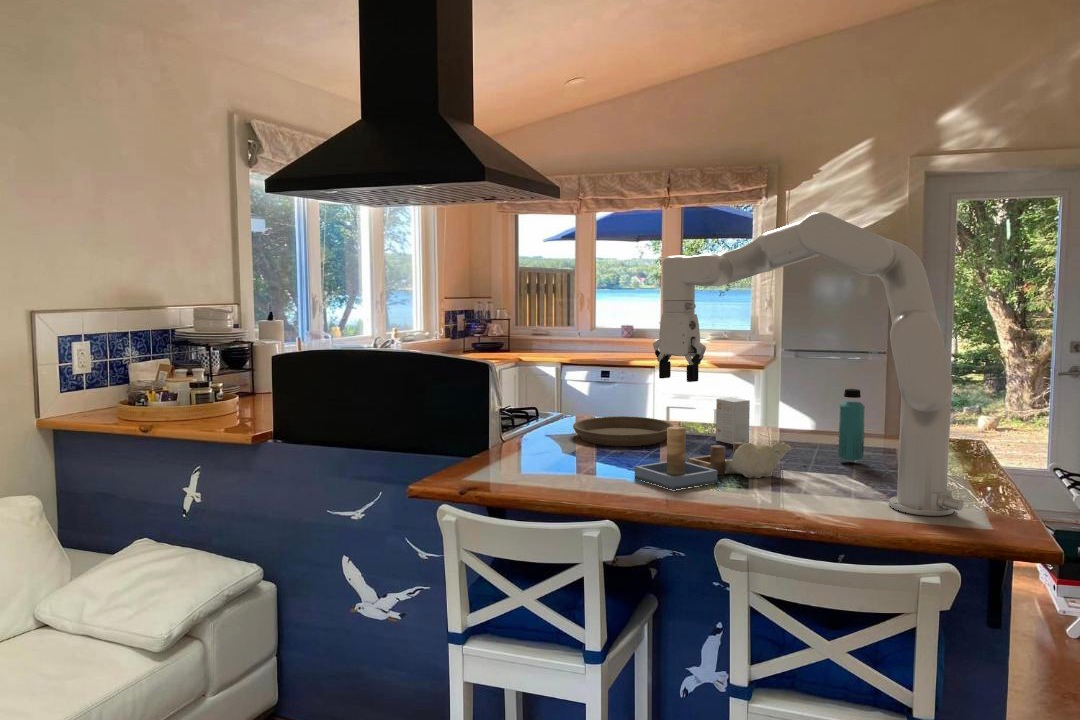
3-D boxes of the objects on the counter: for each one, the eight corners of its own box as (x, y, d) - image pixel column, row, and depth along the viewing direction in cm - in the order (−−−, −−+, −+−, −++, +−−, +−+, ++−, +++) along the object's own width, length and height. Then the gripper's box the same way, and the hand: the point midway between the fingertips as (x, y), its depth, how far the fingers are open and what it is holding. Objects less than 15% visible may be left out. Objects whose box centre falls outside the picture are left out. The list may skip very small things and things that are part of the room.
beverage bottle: (865, 466, 211) (868, 390, 209) (839, 465, 212) (841, 390, 211) (861, 461, 217) (863, 387, 216) (835, 460, 219) (837, 387, 217)
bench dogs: (750, 470, 206) (750, 443, 206) (717, 476, 200) (717, 448, 199) (739, 467, 209) (740, 441, 209) (707, 473, 203) (707, 446, 202)
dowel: (675, 480, 192) (675, 430, 191) (662, 476, 196) (663, 427, 195) (688, 477, 194) (689, 428, 193) (676, 474, 198) (677, 426, 197)
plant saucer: (618, 452, 229) (618, 437, 229) (553, 436, 254) (553, 422, 254) (694, 440, 247) (694, 425, 247) (626, 426, 272) (626, 413, 272)
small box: (749, 443, 242) (750, 400, 241) (733, 445, 239) (734, 401, 238) (730, 438, 249) (731, 397, 248) (714, 440, 246) (715, 398, 245)
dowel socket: (730, 467, 209) (730, 460, 209) (708, 471, 205) (709, 463, 205) (709, 462, 216) (709, 455, 216) (688, 465, 212) (688, 458, 212)
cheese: (720, 487, 197) (768, 455, 189) (710, 462, 201) (756, 430, 194) (757, 497, 206) (803, 466, 199) (746, 472, 211) (791, 442, 203)
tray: (717, 483, 193) (717, 470, 193) (673, 491, 185) (673, 477, 185) (677, 472, 205) (677, 459, 204) (634, 479, 197) (634, 466, 197)
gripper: (716, 308, 186) (715, 381, 187) (666, 307, 200) (666, 375, 202) (692, 309, 182) (691, 384, 183) (642, 308, 196) (643, 377, 198)
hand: (678, 379), depth 193 cm, fingers open, 9 cm apart
